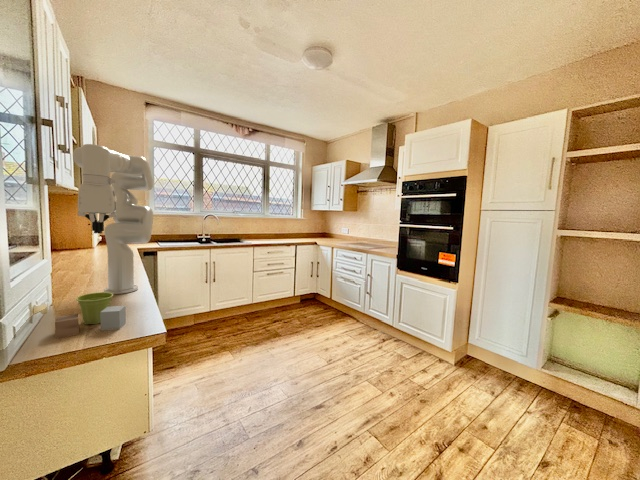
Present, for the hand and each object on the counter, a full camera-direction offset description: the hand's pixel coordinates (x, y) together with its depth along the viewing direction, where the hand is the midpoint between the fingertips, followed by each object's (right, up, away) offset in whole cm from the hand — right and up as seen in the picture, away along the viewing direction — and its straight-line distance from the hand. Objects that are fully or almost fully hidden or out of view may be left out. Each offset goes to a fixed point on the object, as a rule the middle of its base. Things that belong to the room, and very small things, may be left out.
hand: (98, 233), depth 95 cm
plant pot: (+4, -30, -6) cm, 31 cm away
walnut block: (+4, -31, -15) cm, 35 cm away
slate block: (+13, -31, -9) cm, 35 cm away
